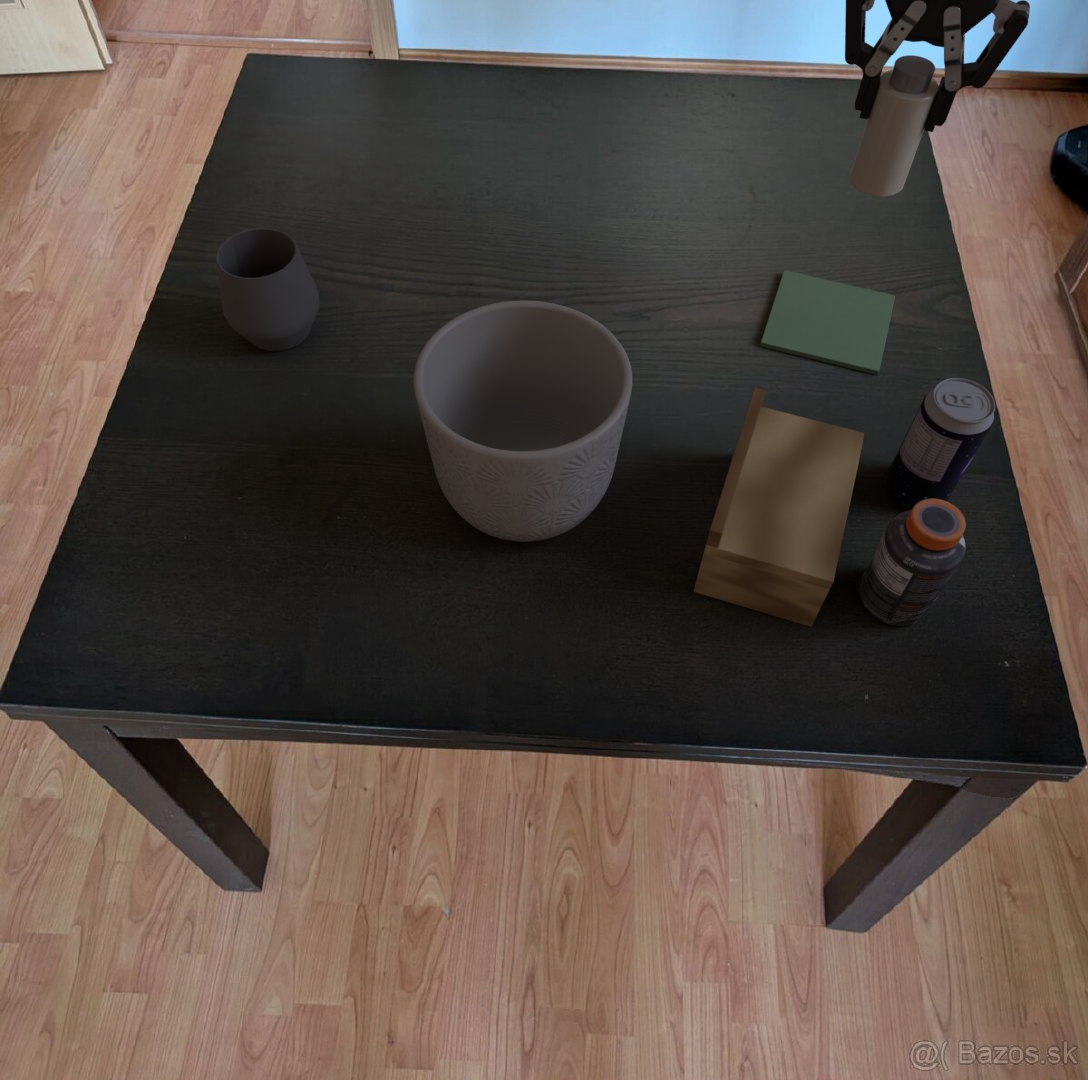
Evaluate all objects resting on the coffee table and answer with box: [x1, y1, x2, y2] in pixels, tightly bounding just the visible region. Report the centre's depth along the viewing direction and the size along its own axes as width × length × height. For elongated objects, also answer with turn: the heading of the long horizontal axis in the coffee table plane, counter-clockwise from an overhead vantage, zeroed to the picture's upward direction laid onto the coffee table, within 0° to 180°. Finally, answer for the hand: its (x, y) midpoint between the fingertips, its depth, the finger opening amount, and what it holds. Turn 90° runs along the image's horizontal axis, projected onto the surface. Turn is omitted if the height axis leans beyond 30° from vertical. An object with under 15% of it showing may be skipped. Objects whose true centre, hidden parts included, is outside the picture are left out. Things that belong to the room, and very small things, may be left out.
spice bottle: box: [849, 54, 939, 198], centre depth 80 cm, size 5×5×10 cm
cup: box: [215, 227, 320, 352], centre depth 92 cm, size 10×9×10 cm
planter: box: [413, 299, 633, 542], centre depth 79 cm, size 17×17×15 cm
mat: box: [759, 270, 896, 376], centre depth 98 cm, size 12×12×1 cm
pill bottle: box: [858, 499, 967, 627], centre depth 74 cm, size 6×6×11 cm
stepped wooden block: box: [693, 387, 866, 628], centre depth 79 cm, size 10×16×9 cm, turn 160°
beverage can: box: [885, 377, 996, 509], centre depth 80 cm, size 6×6×12 cm
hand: (897, 119), depth 79 cm, fingers closed on spice bottle, 4 cm apart
